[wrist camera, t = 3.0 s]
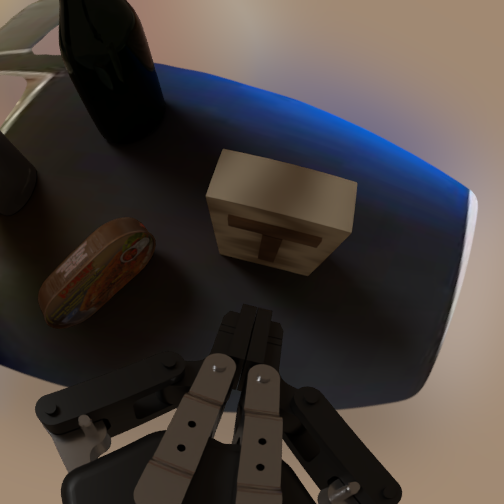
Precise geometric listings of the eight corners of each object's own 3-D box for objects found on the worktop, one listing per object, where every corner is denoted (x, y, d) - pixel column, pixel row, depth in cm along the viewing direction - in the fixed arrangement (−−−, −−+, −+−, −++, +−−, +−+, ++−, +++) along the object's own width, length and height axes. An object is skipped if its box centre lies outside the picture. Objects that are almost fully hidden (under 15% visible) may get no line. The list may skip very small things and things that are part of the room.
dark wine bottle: (90, 145, 37) (-12, -39, 5) (117, 95, 40) (56, -77, 8) (153, 149, 37) (73, -88, 5) (176, 95, 40) (139, -107, 8)
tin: (74, 332, 30) (32, 327, 22) (62, 311, 30) (20, 301, 22) (165, 251, 33) (142, 223, 25) (150, 231, 34) (125, 200, 25)
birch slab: (219, 256, 33) (204, 199, 19) (229, 221, 34) (222, 148, 21) (307, 278, 33) (351, 236, 19) (314, 242, 34) (357, 182, 20)
